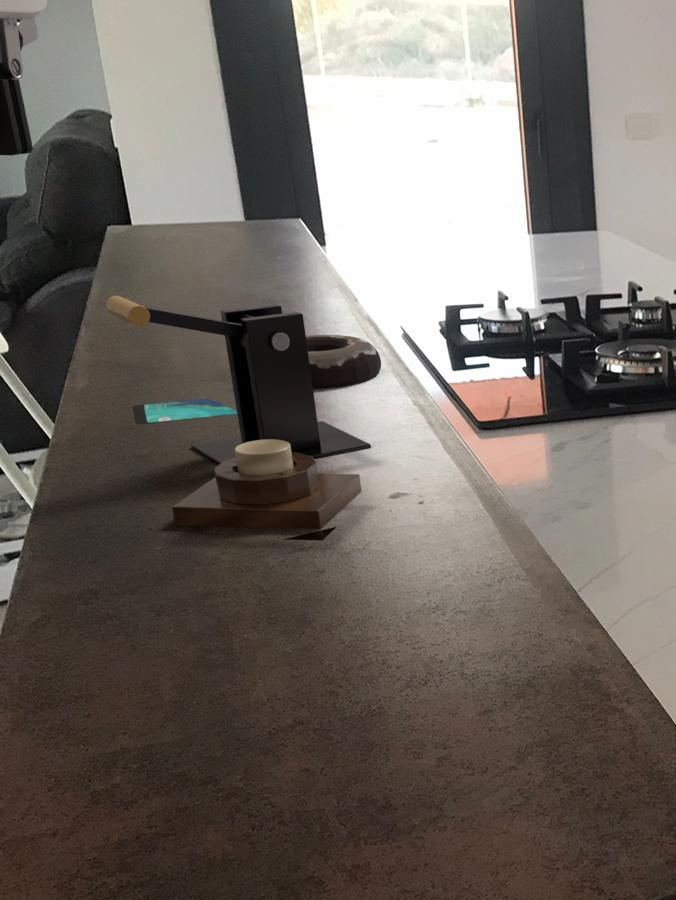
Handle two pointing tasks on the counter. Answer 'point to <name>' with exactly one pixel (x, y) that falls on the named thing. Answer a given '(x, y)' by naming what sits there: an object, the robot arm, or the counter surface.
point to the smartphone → (180, 411)
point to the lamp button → (263, 457)
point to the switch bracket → (275, 388)
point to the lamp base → (270, 499)
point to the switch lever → (172, 318)
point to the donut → (341, 360)
